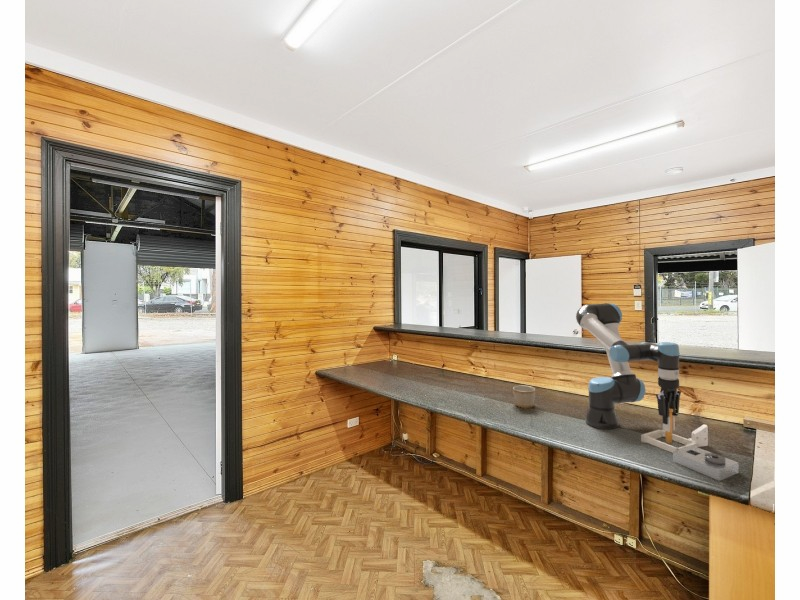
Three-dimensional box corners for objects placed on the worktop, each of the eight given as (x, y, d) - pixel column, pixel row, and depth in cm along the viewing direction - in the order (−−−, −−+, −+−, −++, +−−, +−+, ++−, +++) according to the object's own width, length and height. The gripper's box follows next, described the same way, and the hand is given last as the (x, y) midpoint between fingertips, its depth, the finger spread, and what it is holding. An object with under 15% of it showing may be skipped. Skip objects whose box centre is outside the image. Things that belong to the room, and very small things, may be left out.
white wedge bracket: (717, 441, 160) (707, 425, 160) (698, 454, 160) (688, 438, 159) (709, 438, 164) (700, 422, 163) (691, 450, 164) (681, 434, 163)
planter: (513, 408, 218) (512, 391, 217) (513, 401, 230) (513, 384, 229) (535, 409, 214) (535, 392, 213) (535, 402, 226) (534, 385, 225)
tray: (641, 442, 169) (641, 434, 168) (660, 436, 173) (660, 429, 173) (678, 457, 154) (678, 449, 153) (698, 450, 158) (698, 442, 158)
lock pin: (662, 441, 164) (662, 408, 163) (667, 439, 165) (667, 407, 164) (670, 444, 161) (670, 410, 160) (675, 442, 162) (674, 409, 161)
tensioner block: (672, 463, 149) (672, 445, 149) (691, 456, 154) (691, 439, 153) (719, 483, 134) (719, 463, 134) (738, 475, 139) (738, 455, 138)
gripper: (665, 382, 155) (666, 436, 157) (689, 377, 161) (689, 429, 162) (648, 378, 162) (648, 430, 164) (670, 373, 168) (671, 423, 169)
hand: (668, 429), depth 163 cm, fingers closed on lock pin, 2 cm apart
